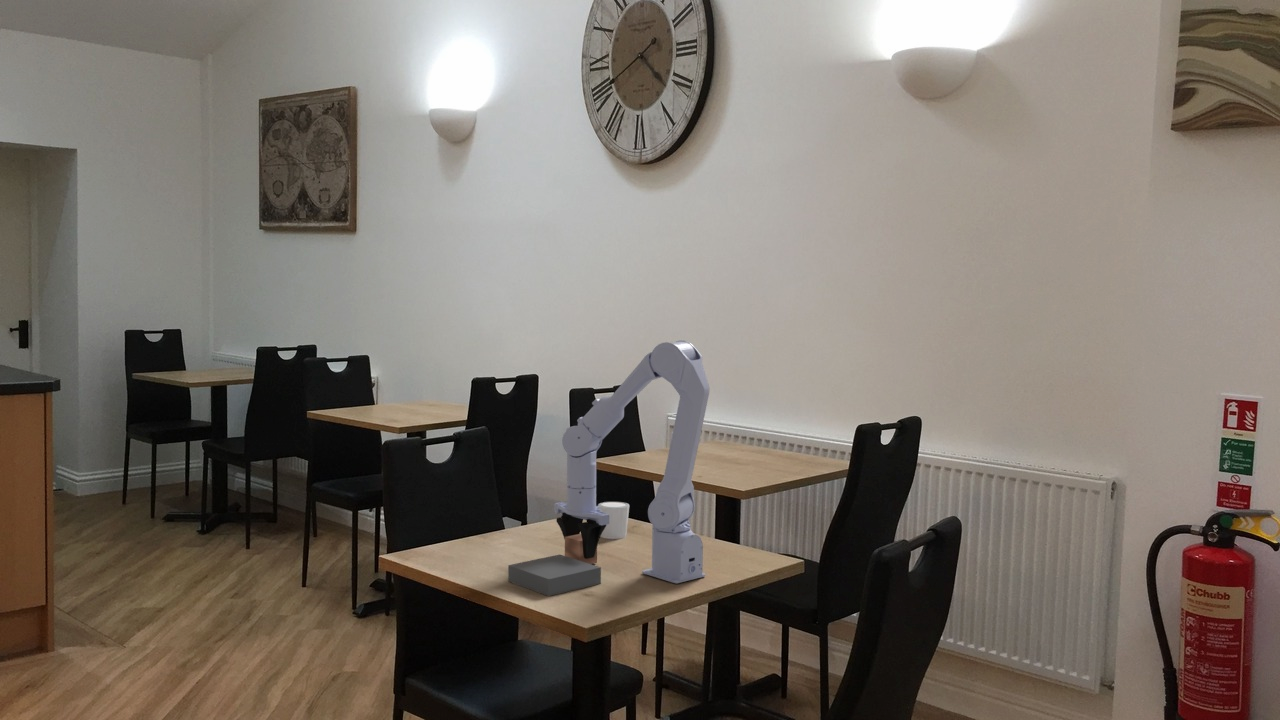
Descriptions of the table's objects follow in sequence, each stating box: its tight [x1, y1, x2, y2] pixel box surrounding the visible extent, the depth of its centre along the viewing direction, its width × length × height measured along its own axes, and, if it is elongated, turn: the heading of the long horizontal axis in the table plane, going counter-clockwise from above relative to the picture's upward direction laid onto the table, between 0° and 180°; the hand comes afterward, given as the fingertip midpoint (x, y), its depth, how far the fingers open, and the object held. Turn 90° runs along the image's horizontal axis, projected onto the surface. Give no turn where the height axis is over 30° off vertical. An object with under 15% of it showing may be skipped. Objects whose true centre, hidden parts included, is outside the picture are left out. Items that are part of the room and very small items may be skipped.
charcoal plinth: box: [507, 554, 602, 597], centre depth 189 cm, size 12×12×3 cm
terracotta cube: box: [564, 533, 598, 565], centre depth 202 cm, size 4×4×5 cm
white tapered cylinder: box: [597, 501, 630, 540], centre depth 225 cm, size 7×7×7 cm
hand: (580, 555), depth 202 cm, fingers closed on terracotta cube, 4 cm apart
